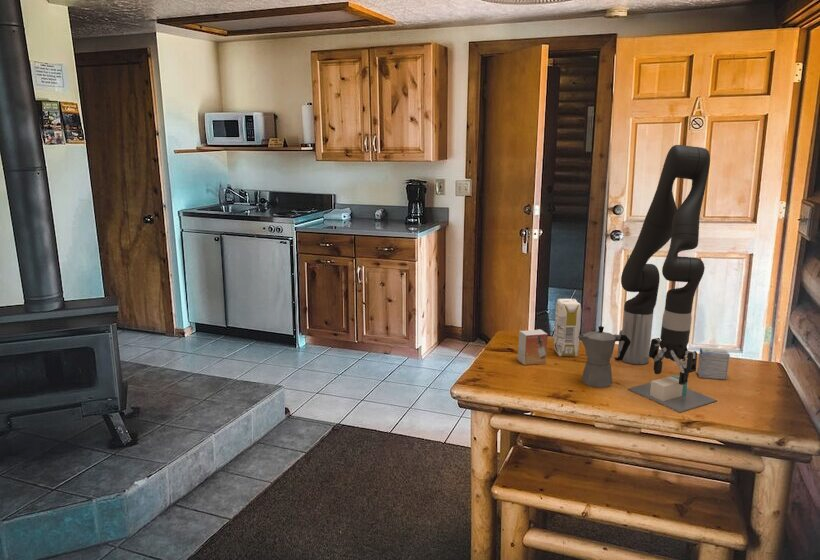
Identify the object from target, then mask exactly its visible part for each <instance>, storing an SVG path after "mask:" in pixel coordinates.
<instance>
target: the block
mask: <svg viewBox="0 0 820 560" xmlns="http://www.w3.org/2000/svg"><path fill="white" fill-rule="evenodd" d="M679 377H680V376H678V375H676V374H674V375H669V376H666V377H661V378H659V379H655V380H651V381H650V383H651V389H650V396H652V397H654V398H656V399H659V400H661V401H666V400H669V399H673V398H676V397H680V396H683V395H686V392H687V388H688V383H689V382H688V381H689V380H688V381H687V383H686V384H683V385H680V384H679Z"/></svg>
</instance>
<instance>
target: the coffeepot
mask: <svg viewBox="0 0 820 560" xmlns="http://www.w3.org/2000/svg"><path fill="white" fill-rule="evenodd" d="M604 329H605V327H604V326H602V325H600V326H598V330H595V331H587V332H586V333H580V335H579V336H578V338H579V340H580V341H581V342H582V344H583V346H584V348H585V349H584V350H585V356H586V362H585V365H584V367H583V368H584V369H583V371H582V377H581V382H582V383H583V384H584V385H586V386H588V387H592V388H597V389H598V388H599V389H600V388H601V389H606V388H609V387H611V386H612V384H613V376H612V375H613V374H612V364H611V358H612V356H613V352H614V349H615V346H616V345H615V344H616V342H619V341H624V344H623V347H622V350H621V351H620V356H619V357H614V360H615V361H617V362H619V361H622V359H623V357H624V355H625V353H626V351H627V349H628V347H629V345H630V340H629V338H628V337H627V336H626V335H619V334H616V333H615V334H613V333H610V332H605V331H604Z"/></svg>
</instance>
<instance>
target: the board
mask: <svg viewBox="0 0 820 560" xmlns="http://www.w3.org/2000/svg"><path fill="white" fill-rule="evenodd" d="M650 389H651V382H648V383H644V384H640V385H636V386H633V387H632V386H631V387H629V388H627V391H630V392H631V393H634V394H636V393H637V394H636V395H638V394H639V396H641V397H643V396H644V397H643V398H645V397H646V399H647V398H649V399H648V400H650V399H651V400H650V401H652V400H654V401H656V402H658V403H657V404H659V403H660V404H659V405H661V404H662V405H661V406H663V405H665V406H667V407H666V408H668V407H669V408H668V409H670V408H671V409H670V410H672V409H673V411H674V412H677V413H679V414H681V413H684V412H688V411H691V410H694V409H697V407H698V408H700V406H701V407H704V406H707V405H711V404H713V403H717V402H718V400H717V399H715V398H713V397H711V396H708V395H705V394H703V393H700V392H697V391H696V390H693V389H691V388H688V387H687V392H686V395H683V396H680V397H676V398H673V399H669V400H666V401H661V400H659V399H656V398H654V397H652V396H650ZM654 401H653V402H654ZM656 402H655V403H656ZM665 406H664V407H665ZM693 408H694V409H693ZM690 409H691V410H690Z"/></svg>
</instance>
